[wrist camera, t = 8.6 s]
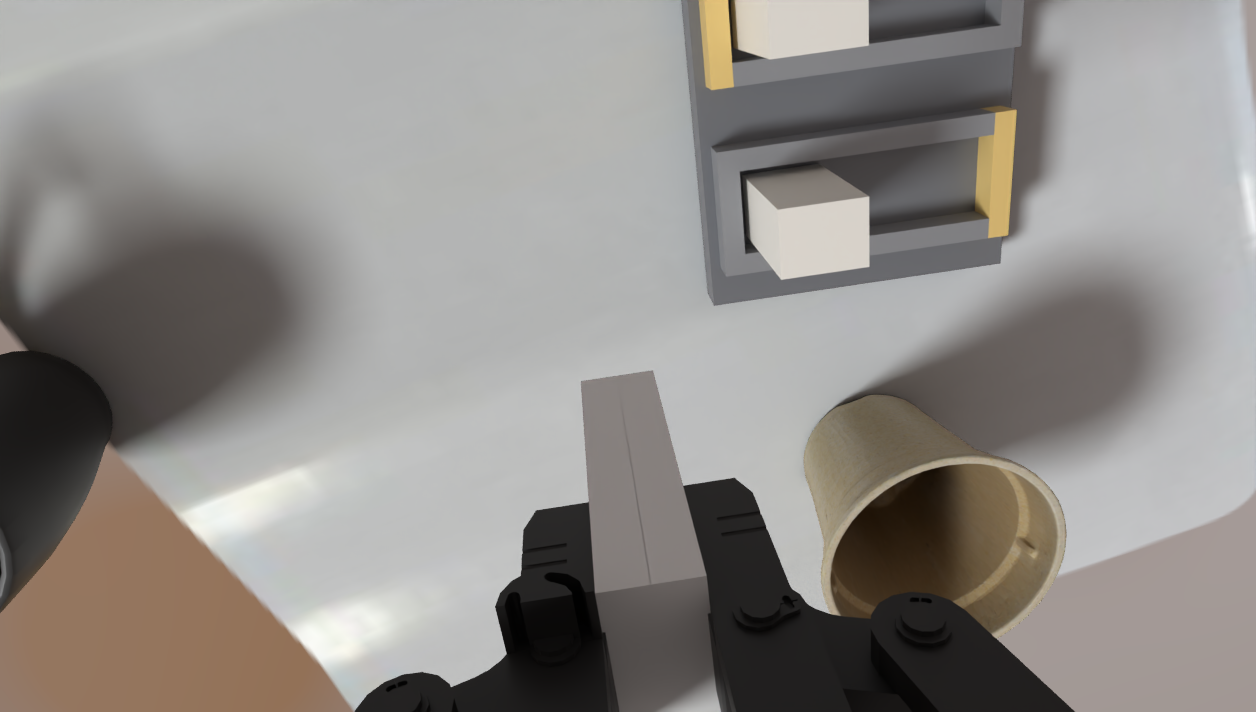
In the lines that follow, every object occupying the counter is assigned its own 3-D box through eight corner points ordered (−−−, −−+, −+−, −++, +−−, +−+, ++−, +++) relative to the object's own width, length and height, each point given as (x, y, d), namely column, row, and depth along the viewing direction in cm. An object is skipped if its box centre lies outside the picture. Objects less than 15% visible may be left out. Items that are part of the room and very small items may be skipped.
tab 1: (728, -25, 28) (765, -29, 23) (813, -37, 29) (868, -43, 24) (733, 48, 29) (770, 59, 24) (815, 36, 30) (868, 45, 25)
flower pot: (775, 362, 37) (836, 463, 29) (979, 354, 37) (1093, 452, 29) (761, 535, 40) (812, 667, 33) (946, 526, 41) (1039, 653, 33)
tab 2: (742, 174, 31) (777, 209, 26) (819, 163, 31) (869, 196, 26) (746, 235, 32) (781, 279, 27) (820, 224, 32) (869, 266, 27)
